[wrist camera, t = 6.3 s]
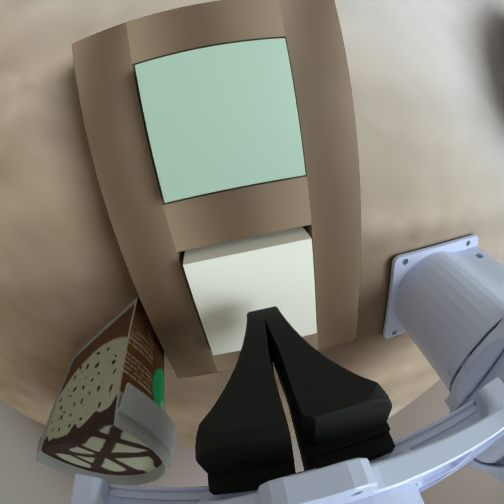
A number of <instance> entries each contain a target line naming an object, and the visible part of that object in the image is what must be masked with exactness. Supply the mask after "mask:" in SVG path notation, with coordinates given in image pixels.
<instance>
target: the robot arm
mask: <svg viewBox="0 0 504 504" xmlns="http://www.w3.org/2000/svg"><path fill="white" fill-rule="evenodd" d="M477 245H478V236H477V235H475V234H472V235H469V236H465V237H462V238H459V239H455V240H452V241H448V242H445V243H441V244H437V245H434V246H430V247H426V248H423V249H419V250H415V251H412V252H408V253H404V254H400V255H397V256H396V257H394V259H393V261H392V268H391V278H390V287H389V296H388V304H387V311H386V318H385V324H384V330H383V336H384V337H385V338H386V339H388V338H391V337H394V336H397V335H399V334H402V333H405V332H407V333H408V335H409V336H410V337H411V339H412V340H413V341H414V342H415V344H416V345H417V347H418V348H419V349H420V351H421V352H422V353H423V355H424V356H425V357H426V359H427V360H428V362H429V363H430V364H431V366H432V367H433V368H434V370H435V371H436V373H437V374H438V376H439V377H440V378H441V380H442V381H443V383H444V384H445V386H446V387H447V389H448V390H449V391H450V394H449V396H448V397H447V398H446V400H445V402H446V404H447V406H448V407H449V409H450V410H451V411H450V413H449V414H448V415H447V416H445V417H443V418H441V419H439V420H437V421H436V422H434V423H432V424H430V425H428V426H426V427H424V428H422V429H420V430H418V431H416V432H414V433H411V434H409V435H407V436H405V437H403V438H401V439H398V440H396V441H393V440H392V438H391V436H390V433H389V430H390V427H389V425H388V424H387V419H388V416H389V414H390V411H391V409H392V403H391V401H390V399H389V397H388V395H387V394H386V393H385V391H384V390H383V389H382V387H381V386H380V385H379V384H378V383H377V382H374V381H371V380H369V379H366V378H363V377H361V376H359V375H356V374H354V373H352V372H350V371H348V370H347V369H345V368H343V367H341V366H340V365H338V364H336V363H334V362H333V361H331V360H330V359H328V358H327V357H325V356H324V355H323V354H321V353H320V352H319V351H317V350H316V349H315V348H314V347H312V346H311V345H310V344H309V343H308V342H307V341H306V340H305V339H304V338H303V337H301V336H300V335H299V333H298V332H297V331H296V330H295V329H294V328H293V327H292V326H291V325H290V324H289V322H288V321H287V320H286V319H285V318H284V316H283V315H282V313H281V312H280V310H279V309H278V308H277V307H276V306H274V307H270V308H265V309H260V310H255V311H251V312H248V313H247V325H246V331H245V336H244V341H243V345H242V348H241V352H240V355H239V358H238V361H237V364H236V366H235V369H234V371H233V373H232V375H231V378H230V380H229V382H228V383H227V385H226V387H225V389H224V391H223V393H222V394H221V396H220V397H219V399H218V400H217V402H216V403H215V405H214V406H213V408H212V409H211V411H210V412H209V413H208V414H207V416H206V417H205V418H204V419H203V420H202V422H201V423H200V424H199V428H198V432H197V437H196V445H195V451H196V461H197V462H198V464H199V465H200V466H201V467H202V468H203V469H204V470H205V471H206V472H207V473H208V484H209V486H201V487H141V486H140V487H139V486H126V485H116V484H109V483H108V482H107V481H105V480H104V479H102V478H99V477H96V476H90V475H84V474H75V478H74V484H73V491H72V498H71V504H424V502H423V499H422V497H421V495H420V492H421V491H423V490H425V489H427V488H429V487H430V486H432V485H434V484H436V483H437V482H439V481H441V480H442V479H444V478H446V477H447V476H449V475H450V474H452V473H453V472H455V471H456V470H458V469H459V468H461V467H462V466H464V465H465V464H466V465H467V466H469V467H471V468H474V469H477V470H481V471H486V472H488V473H490V474H492V475H494V476H495V477H496V478H497V479H499V480H500V481H501V482H504V265H503V264H501V263H500V262H499V261H497V260H496V259H494V258H493V257H492V256H490V255H489V254H488V253H486V252H485V251H483V250H482V249H480V248H479V247H478V246H477ZM404 259H405V261H404ZM403 261H404V262H403ZM272 360H273V361H272ZM273 363H274V366H275V369H276V371H277V374H278V377H279V380H280V382H281V385H282V388H283V391H284V393H285V396H286V399H287V402H288V406H289V410H290V414H291V418H292V422H293V426H294V430H295V434H296V438H297V442H298V446H299V450H300V454H301V458H302V463H303V467H304V471H303V472H298V473H296V472H295V465H294V457H293V450H292V443H291V436H290V432H289V428H288V424H287V420H286V417H285V413H284V410H283V406H282V403H281V399H280V395H279V392H278V388H277V384H276V381H275V377H274V369H273Z"/></svg>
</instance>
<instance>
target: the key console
mask: <svg viewBox="0 0 504 504" xmlns="http://www.w3.org/2000/svg"><path fill="white" fill-rule="evenodd" d="M277 38H285V41H286V46H287V51H288V57H289V62H290V68H291V74H292V80H293V86H294V92H295V98H296V105H297V111H298V118H299V125H300V133H301V140H302V148H303V156H304V164H305V173H306V175H303V176H297V177H291V178H285V179H279V180H273V181H267V182H262V183H256V184H251V185H246V186H241V187H236V188H231V189H226V190H221V191H216V192H211V193H207V194H202V195H197V196H193V197H188V198H184V199H180V200H175V201H171V202H167V203H165V202H164V198H163V194H162V190H161V186H160V182H159V178H158V174H157V170H156V166H155V162H154V158H153V153H152V149H151V145H150V140H149V136H148V131H147V127H146V122H145V117H144V112H143V107H142V102H141V97H140V92H139V86H138V81H137V75H136V69H135V65H137V64H140V63H143V62H147V61H150V60H154V59H157V58H161V57H165V56H169V55H173V54H177V53H181V52H186V51H190V50H195V49H200V48H206V47H211V46H217V45H223V44H230V43H237V42H245V41H254V40H264V39H277ZM72 51H73V60H74V68H75V75H76V81H77V88H78V94H79V100H80V105H81V110H82V115H83V120H84V125H85V130H86V134H87V139H88V143H89V147H90V151H91V155H92V159H93V163H94V167H95V171H96V174H97V178H98V182H99V185H100V189H101V192H102V195H103V199H104V202H105V205H106V208H107V211H108V215H109V218H110V221H111V224H112V227H113V230H114V233H115V235H116V238H117V241H118V244H119V247H120V249H121V252H122V255H123V257H124V260H125V263H126V265H127V268H128V270H129V273H130V276H131V278H132V281H133V283H134V285H135V288H136V290H137V293H138V295H139V297H140V300H141V302H142V304H143V307H144V309H145V311H146V313H147V316H148V318H149V320H150V322H151V324H152V327H153V329H154V331H155V333H156V335H157V337H158V339H159V341H160V343H161V345H162V347H163V349H164V352H165V354H166V355H167V357H168V359H169V361H170V363H171V365H172V367H173V369H174V371H175V373H176V375H177V377H178V378H184V377H191V376H198V375H204V374H211V373H217V372H223V371H228V370H234V369H235V366H236V364H237V361H238V358H239V355H240V352H241V350H240V351H235V352H229V353H224V354H218V355H213V353H212V350H211V347H210V345H209V342H208V339H207V336H206V333H205V331H204V328H203V325H202V322H201V319H200V316H199V313H198V310H197V307H196V304H195V301H194V298H193V295H192V292H191V289H190V286H189V283H188V280H187V277H186V274H185V270H184V267H183V260H184V254H185V250H190V249H194V248H199V247H204V246H209V245H213V244H218V243H223V242H228V241H233V240H237V239H242V238H247V237H252V236H257V235H262V234H267V233H272V232H277V231H282V230H287V229H292V228H297V227H303V228H304V229H305V230H306V232H307V233H308V234H309V236H310V237H311V238H312V251H313V265H314V282H315V301H316V326H317V333H315V334H311V335H307V336H303V338H304V339H305V340H306V341H307V342H308V343H309V344H310V345H311V346H312V347H314V348H315V349H316V350H317V351H318V350H322V349H326V348H329V347H333V346H336V345H340V344H343V343H346V342H350V341H353V340H356V333H357V322H358V308H359V292H360V268H361V198H360V175H359V158H358V145H357V134H356V123H355V114H354V106H353V98H352V90H351V83H350V77H349V70H348V64H347V58H346V53H345V47H344V42H343V37H342V32H341V27H340V23H339V18H338V14H337V10H336V6H335V2H334V0H221V1H214V2H207V3H202V4H196V5H191V6H186V7H181V8H177V9H172V10H168V11H164V12H160V13H156V14H152V15H149V16H145V17H142V18H139V19H135V20H132V21H129V22H126V23H123V24H120V25H117V26H115V27H112V28H109V29H106V30H104V31H101V32H99V33H96V34H94V35H91V36H89V37H87V38H84V39H82V40H80V41H77V42H75V43H73V44H72ZM272 361H273V360H272Z"/></svg>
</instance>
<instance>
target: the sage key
mask: <svg viewBox="0 0 504 504" xmlns="http://www.w3.org/2000/svg"><path fill="white" fill-rule="evenodd" d="M135 69H136V75H137V81H138V86H139V92H140V97H141V102H142V107H143V112H144V117H145V122H146V127H147V131H148V136H149V140H150V145H151V149H152V153H153V158H154V162H155V166H156V170H157V174H158V178H159V182H160V186H161V190H162V194H163V198H164V202H165V203H167V202H171V201H175V200H180V199H184V198H188V197H193V196H197V195H202V194H207V193H211V192H216V191H221V190H226V189H231V188H236V187H241V186H246V185H251V184H256V183H262V182H267V181H273V180H279V179H285V178H291V177H297V176H303V175H306V173H305V164H304V156H303V148H302V140H301V133H300V125H299V118H298V111H297V105H296V98H295V92H294V86H293V80H292V74H291V68H290V62H289V57H288V51H287V46H286V41H285V38H277V39H264V40H254V41H245V42H237V43H230V44H223V45H217V46H211V47H206V48H200V49H195V50H190V51H186V52H181V53H177V54H173V55H169V56H165V57H161V58H157V59H154V60H150V61H147V62H143V63H140V64H137V65H135Z"/></svg>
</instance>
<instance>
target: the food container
mask: <svg viewBox="0 0 504 504" xmlns="http://www.w3.org/2000/svg"><path fill="white" fill-rule="evenodd" d="M176 444H177V432H176V429H175V426H174V424H173V422H172V421H171V419H170V418H169V416H168V415H167V414H166V413H165V412H164V349H163V347H162V345H161V343H160V341H159V339H158V337H157V335H156V333H155V331H154V329H153V327H152V324H151V322H150V320H149V318H148V316H147V313H146V311H145V309H144V307H143V304H142V302H141V300H140V298H139V297H137V298H136V299H135V300H134V301H132V302H131V303H130V304H129V305H128V306H127V307H126V308H125V309H124V310H122V311H121V312H120V313H119V314H118V315H117V316H116V317H115V318H114V319H113V320H111V321H110V322H109V323H108V324H107V325H106V326H105V327H104V328H103V329H102V330H101V331H100V332H98V333H97V334H96V335H95V336H94V337H93V338H92V339H91V340H90V341H89V342H88V343H87V344H86V345H85V346H84V347H82V348H81V349H80V350H79V351H78V352H77V353H76V354H75V355H74V356H73V359H72V361H71V363H70V365H69V368H68V370H67V372H66V375H65V377H64V380H63V382H62V385H61V387H60V390H59V392H58V395H57V397H56V400H55V403H54V405H53V408H52V411H51V413H50V416H49V419H48V422H47V425H46V428H45V431H44V434H43V437H40V440H39V445H38V450H37V457H36V459H37V460H38V461H40V462H42V463H44V464H45V465H47V466H49V467H52V468H54V469H56V470H58V471H61V472H63V473H66V474H68V475H71V476H74V477H75V474H84V475H90V476H96V477H99V478H102V479H104V480H105V481H107V482H108V483H109V484H116V485H126V486H140V485H147V484H150V483H154V482H156V481H158V480H160V479H161V478H162V477H163V476H164V475H165V472H166V470H167V469H168V467H170V464H171V461H172V458H173V455H174V451H175V447H176Z"/></svg>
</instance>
